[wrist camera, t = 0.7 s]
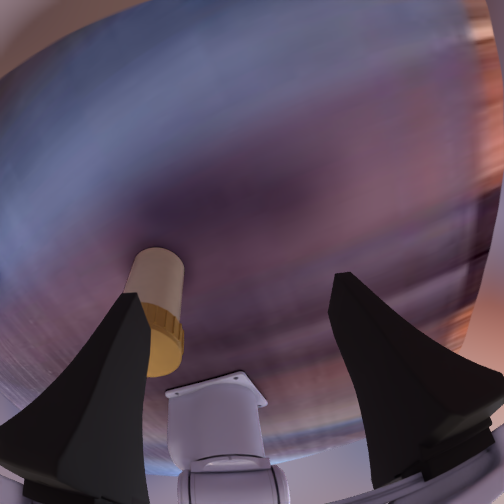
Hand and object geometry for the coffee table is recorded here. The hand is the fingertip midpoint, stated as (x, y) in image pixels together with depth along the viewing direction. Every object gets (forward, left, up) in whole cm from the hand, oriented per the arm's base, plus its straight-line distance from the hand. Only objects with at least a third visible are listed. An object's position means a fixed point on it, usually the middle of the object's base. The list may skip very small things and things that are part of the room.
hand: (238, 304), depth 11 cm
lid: (-7, -3, -3) cm, 8 cm away
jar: (-7, -3, -10) cm, 13 cm away
